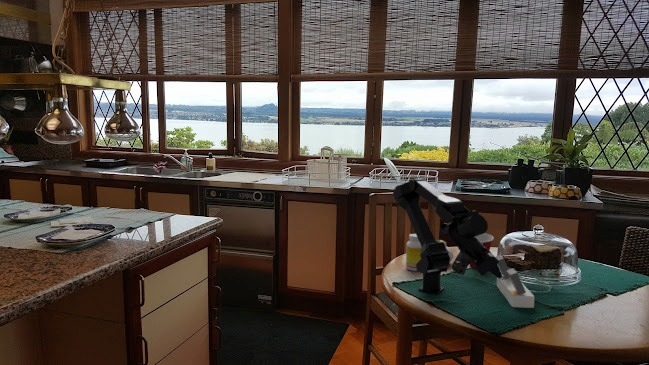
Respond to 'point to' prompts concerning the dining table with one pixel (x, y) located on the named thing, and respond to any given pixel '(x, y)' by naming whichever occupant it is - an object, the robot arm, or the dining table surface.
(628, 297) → the dining table surface
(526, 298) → the switch console
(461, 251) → the robot arm
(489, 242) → the plastic cup
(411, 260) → the supplement bottle
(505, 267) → the lever grey tag
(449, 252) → the cat figurine
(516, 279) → the grey rectangular block
